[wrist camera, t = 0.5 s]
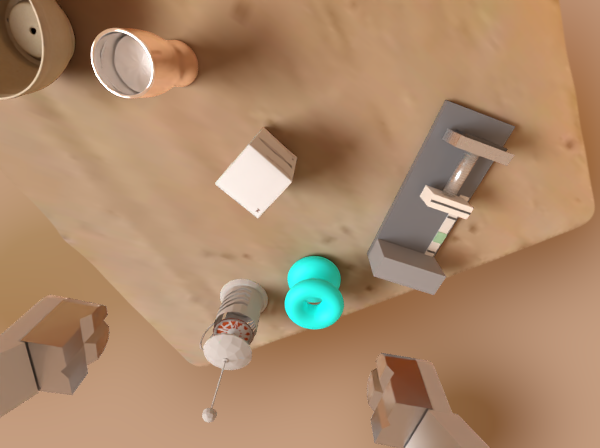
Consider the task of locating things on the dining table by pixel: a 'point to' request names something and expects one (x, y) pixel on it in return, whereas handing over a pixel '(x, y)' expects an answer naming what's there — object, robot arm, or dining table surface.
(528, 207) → the dining table surface
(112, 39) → the beer glass
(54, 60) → the planter bowl
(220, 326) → the french press
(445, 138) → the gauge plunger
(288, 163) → the supplement box
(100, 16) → the dining table surface
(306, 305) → the donuts
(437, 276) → the frame
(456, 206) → the gauge pointer
